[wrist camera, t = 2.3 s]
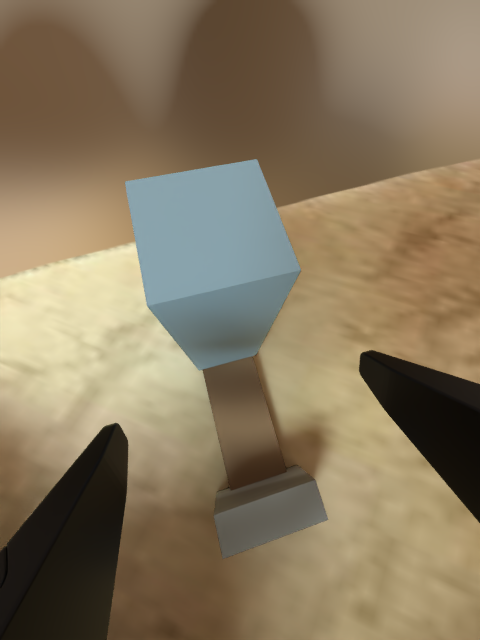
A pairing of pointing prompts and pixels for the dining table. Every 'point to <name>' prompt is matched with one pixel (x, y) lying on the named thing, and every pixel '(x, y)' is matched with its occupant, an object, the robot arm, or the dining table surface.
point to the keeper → (212, 258)
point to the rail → (255, 466)
